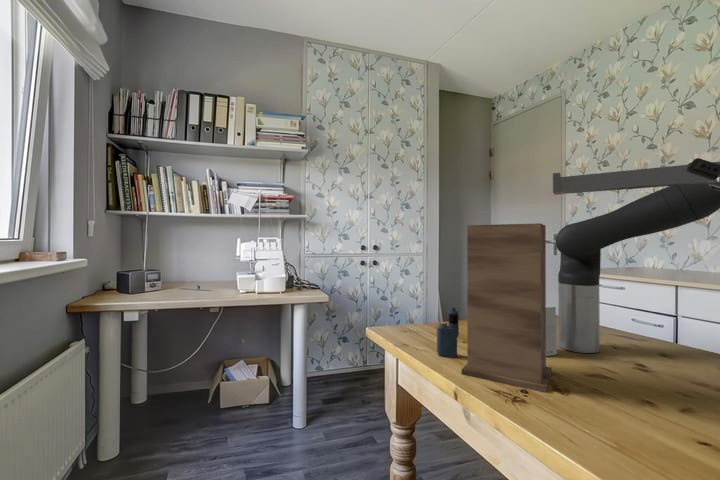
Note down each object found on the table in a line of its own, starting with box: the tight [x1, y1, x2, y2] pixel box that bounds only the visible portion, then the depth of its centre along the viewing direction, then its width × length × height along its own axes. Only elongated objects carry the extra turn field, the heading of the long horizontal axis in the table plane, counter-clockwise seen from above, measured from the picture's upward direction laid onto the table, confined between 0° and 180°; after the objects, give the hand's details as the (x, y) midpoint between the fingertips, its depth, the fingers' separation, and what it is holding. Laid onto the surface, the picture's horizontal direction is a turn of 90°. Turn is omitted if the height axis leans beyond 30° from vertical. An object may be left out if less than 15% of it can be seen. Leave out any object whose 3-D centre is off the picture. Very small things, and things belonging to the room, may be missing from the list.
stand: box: [461, 223, 553, 393], centre depth 74 cm, size 12×16×32 cm
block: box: [552, 161, 720, 196], centre depth 62 cm, size 4×25×4 cm, turn 56°
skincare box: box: [546, 305, 558, 357], centre depth 88 cm, size 6×4×12 cm
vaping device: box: [436, 307, 460, 358], centre depth 85 cm, size 3×5×12 cm, turn 79°
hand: (689, 166), depth 58 cm, fingers closed on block, 3 cm apart
